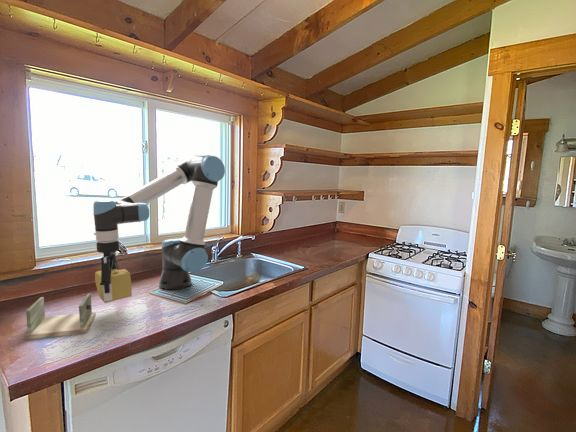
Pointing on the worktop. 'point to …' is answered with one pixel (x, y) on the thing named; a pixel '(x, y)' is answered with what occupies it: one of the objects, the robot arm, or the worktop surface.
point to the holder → (58, 321)
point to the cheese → (116, 284)
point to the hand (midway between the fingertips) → (111, 293)
